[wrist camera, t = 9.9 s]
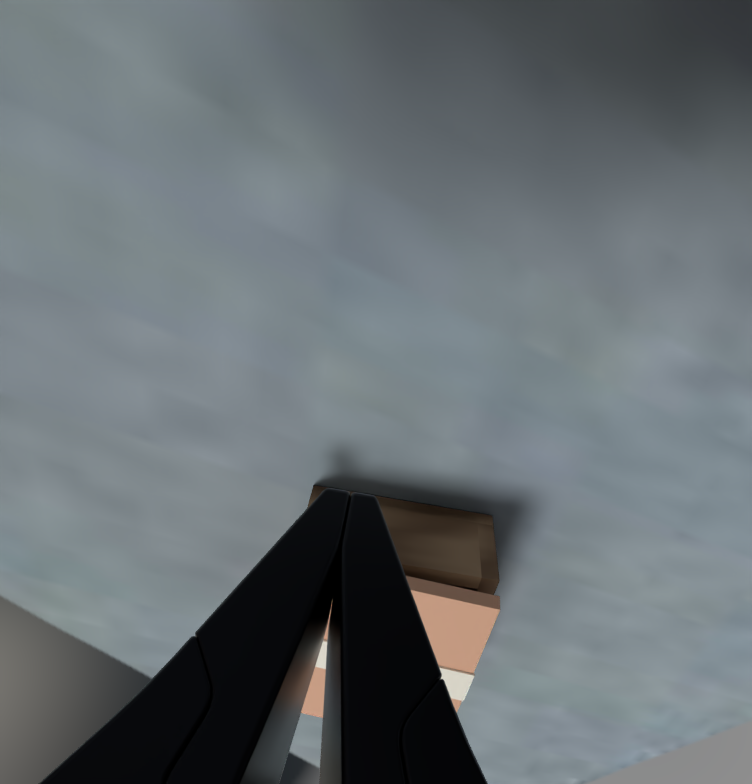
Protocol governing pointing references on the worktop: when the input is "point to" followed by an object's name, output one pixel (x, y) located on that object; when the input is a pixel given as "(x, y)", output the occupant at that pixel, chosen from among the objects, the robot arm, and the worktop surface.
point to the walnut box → (441, 543)
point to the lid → (435, 637)
